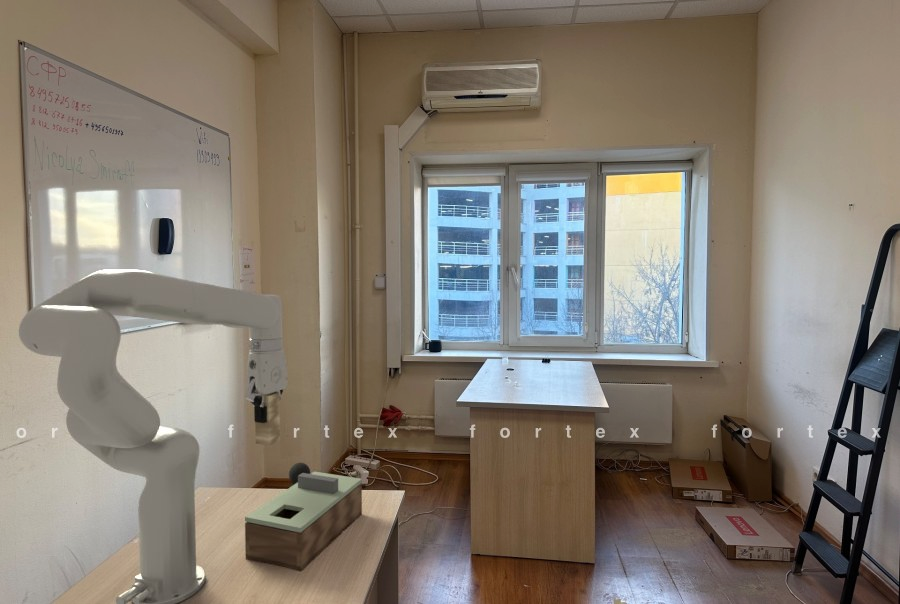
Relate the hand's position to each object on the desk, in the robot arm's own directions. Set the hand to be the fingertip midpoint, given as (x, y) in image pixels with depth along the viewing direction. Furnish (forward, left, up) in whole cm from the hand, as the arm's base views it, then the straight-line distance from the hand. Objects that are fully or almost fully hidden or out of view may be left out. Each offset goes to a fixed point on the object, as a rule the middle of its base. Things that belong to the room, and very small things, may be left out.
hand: (267, 418), depth 122 cm
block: (0, 0, -6) cm, 6 cm away
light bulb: (+13, 0, -26) cm, 29 cm away
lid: (-2, -13, -18) cm, 22 cm away
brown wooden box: (-2, -13, -26) cm, 29 cm away
